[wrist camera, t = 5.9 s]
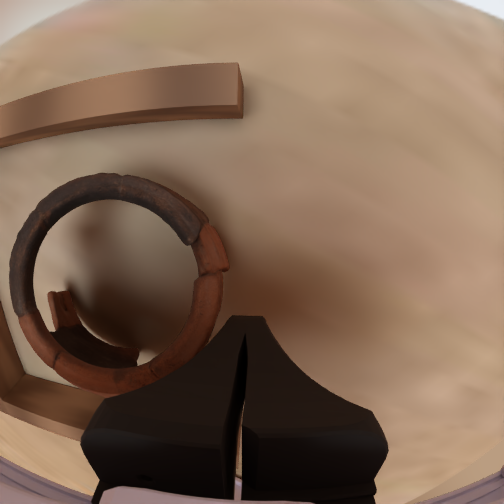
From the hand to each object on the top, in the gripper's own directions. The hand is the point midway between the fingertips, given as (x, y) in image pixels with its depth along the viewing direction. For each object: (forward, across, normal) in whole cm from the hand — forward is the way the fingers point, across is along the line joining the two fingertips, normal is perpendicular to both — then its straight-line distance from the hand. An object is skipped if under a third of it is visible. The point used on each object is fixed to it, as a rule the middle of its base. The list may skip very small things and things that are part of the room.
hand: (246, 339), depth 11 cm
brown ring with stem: (+4, +5, 0) cm, 7 cm away
